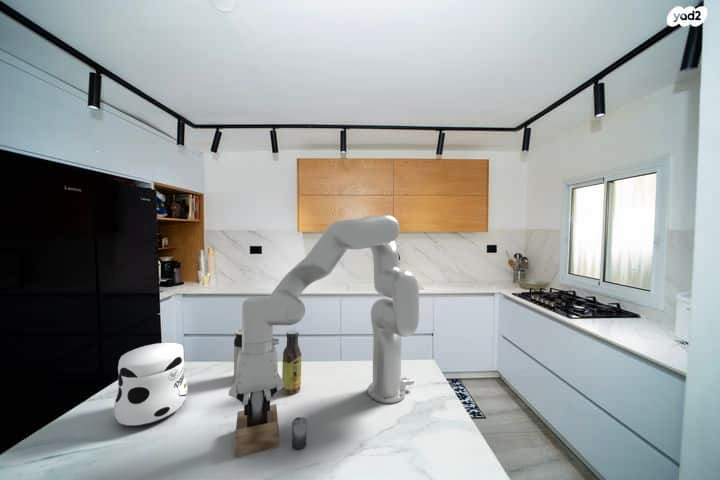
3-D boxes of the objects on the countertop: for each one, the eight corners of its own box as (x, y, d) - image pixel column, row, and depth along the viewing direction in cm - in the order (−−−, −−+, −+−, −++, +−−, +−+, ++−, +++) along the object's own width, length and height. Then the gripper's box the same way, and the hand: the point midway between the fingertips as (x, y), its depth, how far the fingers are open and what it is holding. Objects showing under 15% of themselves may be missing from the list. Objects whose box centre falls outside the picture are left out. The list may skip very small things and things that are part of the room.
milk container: (200, 404, 87) (200, 347, 87) (136, 441, 71) (136, 371, 71) (165, 390, 94) (165, 337, 94) (101, 421, 79) (100, 358, 78)
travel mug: (252, 384, 99) (252, 334, 98) (229, 384, 99) (230, 333, 98) (260, 373, 107) (260, 326, 106) (239, 373, 107) (240, 326, 106)
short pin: (305, 438, 73) (305, 415, 73) (307, 448, 70) (307, 424, 70) (291, 441, 72) (291, 418, 72) (292, 452, 69) (293, 427, 68)
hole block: (276, 421, 80) (276, 404, 79) (278, 446, 70) (278, 427, 70) (237, 429, 76) (237, 411, 76) (234, 457, 67) (234, 436, 67)
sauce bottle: (296, 396, 92) (296, 336, 91) (278, 394, 93) (278, 334, 93) (304, 386, 98) (304, 329, 98) (287, 383, 100) (287, 328, 99)
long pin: (264, 424, 75) (264, 380, 75) (264, 433, 72) (264, 387, 72) (249, 427, 74) (250, 382, 74) (249, 437, 71) (249, 390, 70)
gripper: (289, 336, 79) (288, 401, 79) (223, 343, 73) (223, 413, 74) (292, 347, 72) (291, 417, 72) (220, 355, 66) (220, 432, 67)
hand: (257, 414), depth 73 cm, fingers closed on long pin, 3 cm apart
